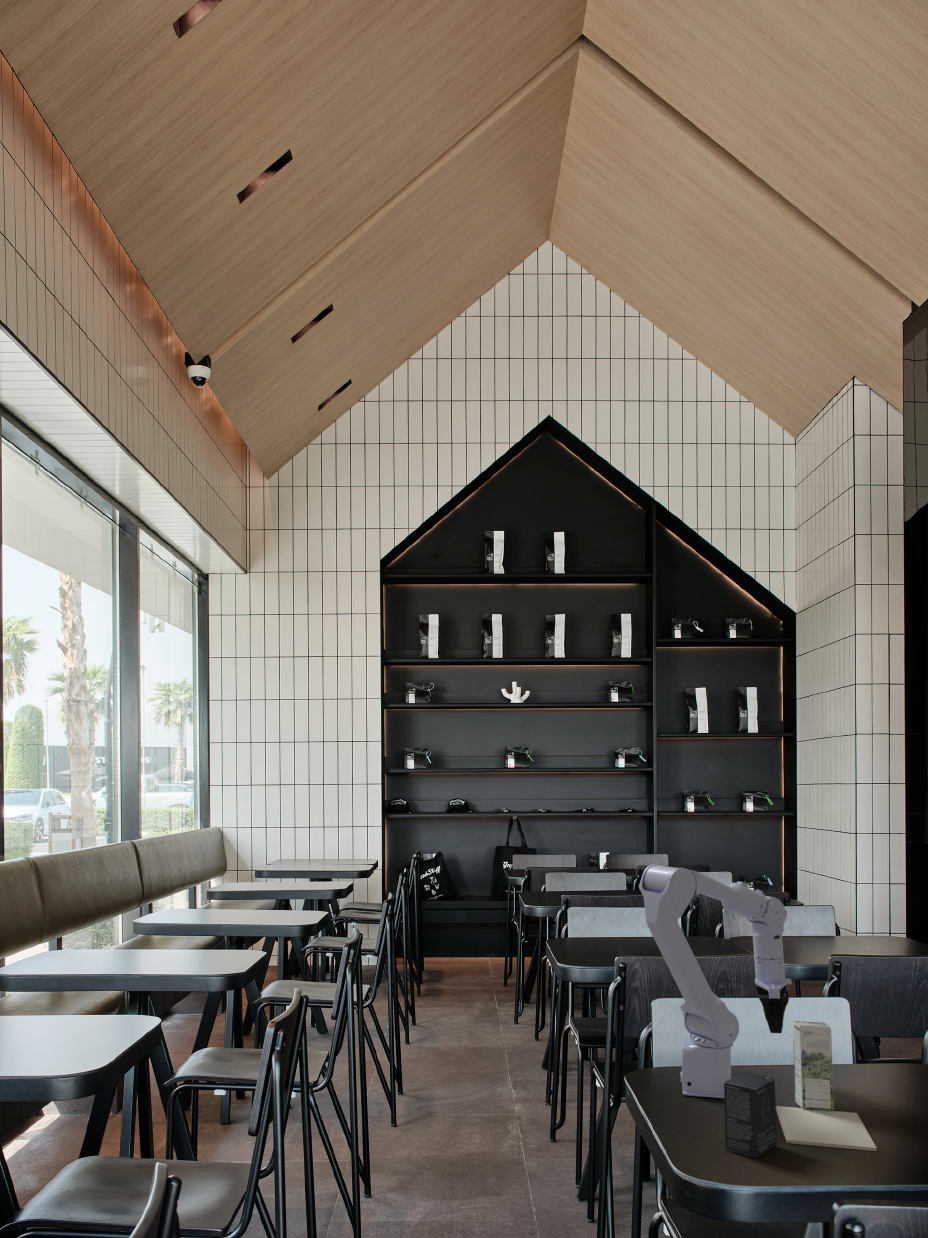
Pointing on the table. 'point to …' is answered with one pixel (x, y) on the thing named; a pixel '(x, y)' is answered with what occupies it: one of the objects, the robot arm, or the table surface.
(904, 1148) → the table surface
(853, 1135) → the mat
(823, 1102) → the syrup box
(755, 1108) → the box
